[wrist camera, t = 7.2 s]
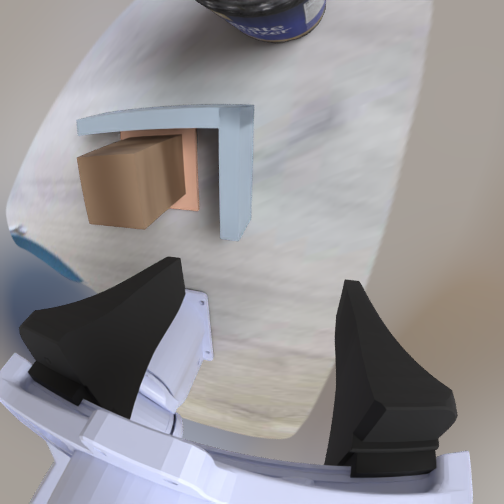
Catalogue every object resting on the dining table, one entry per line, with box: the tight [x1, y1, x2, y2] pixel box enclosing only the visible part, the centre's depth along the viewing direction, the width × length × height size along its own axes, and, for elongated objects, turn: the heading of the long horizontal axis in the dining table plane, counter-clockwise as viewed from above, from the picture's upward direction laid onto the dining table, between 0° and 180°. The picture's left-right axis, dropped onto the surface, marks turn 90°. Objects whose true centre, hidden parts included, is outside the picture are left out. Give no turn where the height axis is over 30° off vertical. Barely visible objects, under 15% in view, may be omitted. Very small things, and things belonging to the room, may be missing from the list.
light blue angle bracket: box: [77, 104, 254, 241], centre depth 19 cm, size 8×12×4 cm
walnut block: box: [77, 134, 186, 229], centre depth 18 cm, size 4×4×6 cm
